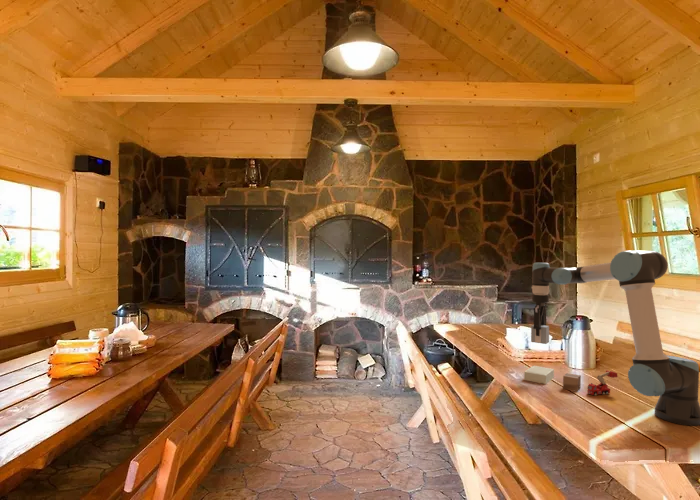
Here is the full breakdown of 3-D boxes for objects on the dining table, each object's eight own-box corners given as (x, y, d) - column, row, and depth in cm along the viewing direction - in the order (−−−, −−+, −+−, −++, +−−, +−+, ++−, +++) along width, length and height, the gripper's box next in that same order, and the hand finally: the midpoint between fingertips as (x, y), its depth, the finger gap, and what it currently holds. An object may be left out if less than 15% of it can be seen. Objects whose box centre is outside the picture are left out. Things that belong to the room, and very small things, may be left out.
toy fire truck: (586, 393, 198) (586, 372, 198) (611, 391, 202) (611, 369, 202) (592, 396, 195) (592, 374, 195) (617, 393, 199) (617, 371, 199)
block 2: (577, 391, 201) (577, 378, 201) (563, 388, 205) (563, 375, 205) (580, 388, 206) (580, 375, 206) (566, 385, 210) (566, 372, 209)
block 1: (546, 344, 216) (546, 327, 215) (531, 341, 220) (531, 325, 220) (549, 342, 219) (549, 326, 219) (534, 340, 224) (534, 324, 224)
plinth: (545, 384, 211) (546, 375, 211) (524, 379, 218) (524, 371, 218) (553, 377, 222) (554, 368, 222) (533, 373, 229) (533, 365, 229)
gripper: (537, 292, 229) (537, 337, 229) (526, 295, 215) (526, 343, 215) (553, 293, 224) (552, 339, 224) (543, 296, 210) (542, 345, 210)
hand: (539, 341), depth 220 cm, fingers closed on block 1, 5 cm apart
